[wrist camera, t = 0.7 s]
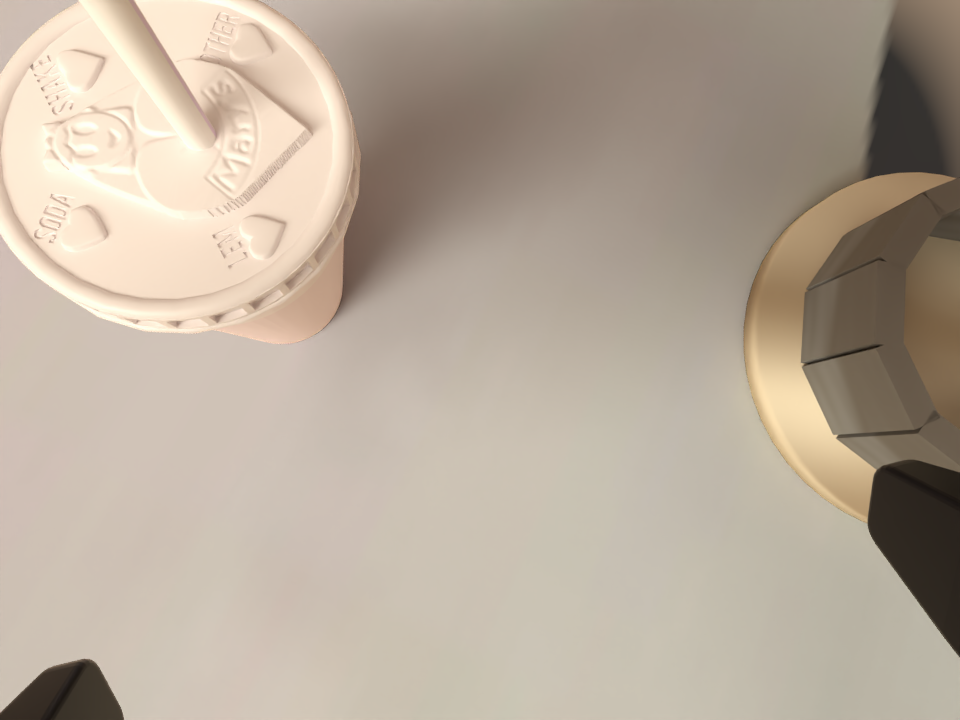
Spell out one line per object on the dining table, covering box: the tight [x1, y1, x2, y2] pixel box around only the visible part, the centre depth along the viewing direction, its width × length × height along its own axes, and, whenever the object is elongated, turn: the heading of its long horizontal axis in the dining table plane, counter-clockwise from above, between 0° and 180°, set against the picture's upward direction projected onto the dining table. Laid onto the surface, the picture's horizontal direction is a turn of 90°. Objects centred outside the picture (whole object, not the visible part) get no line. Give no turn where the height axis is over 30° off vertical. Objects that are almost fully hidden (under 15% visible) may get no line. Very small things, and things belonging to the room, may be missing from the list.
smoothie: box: [0, 0, 361, 344], centre depth 14 cm, size 6×6×14 cm
